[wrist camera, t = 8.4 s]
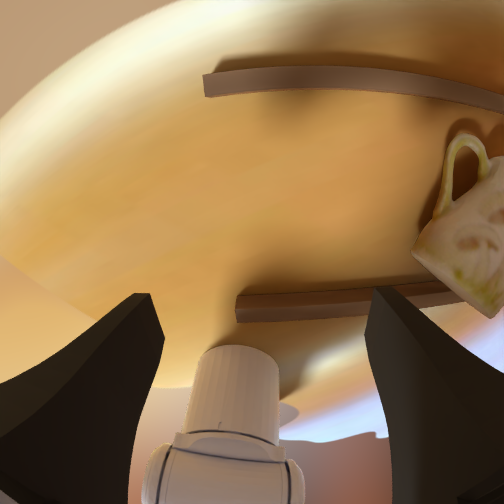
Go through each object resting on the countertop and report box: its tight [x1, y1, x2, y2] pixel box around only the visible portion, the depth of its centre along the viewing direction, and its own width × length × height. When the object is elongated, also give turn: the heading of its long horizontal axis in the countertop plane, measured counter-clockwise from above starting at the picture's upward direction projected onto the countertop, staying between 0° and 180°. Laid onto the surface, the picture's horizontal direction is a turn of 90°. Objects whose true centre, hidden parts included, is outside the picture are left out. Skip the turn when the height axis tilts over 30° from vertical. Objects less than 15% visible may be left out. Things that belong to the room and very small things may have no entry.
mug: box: [411, 133, 504, 319], centre depth 13 cm, size 8×10×10 cm
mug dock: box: [203, 66, 504, 323], centre depth 15 cm, size 15×29×2 cm, turn 95°
